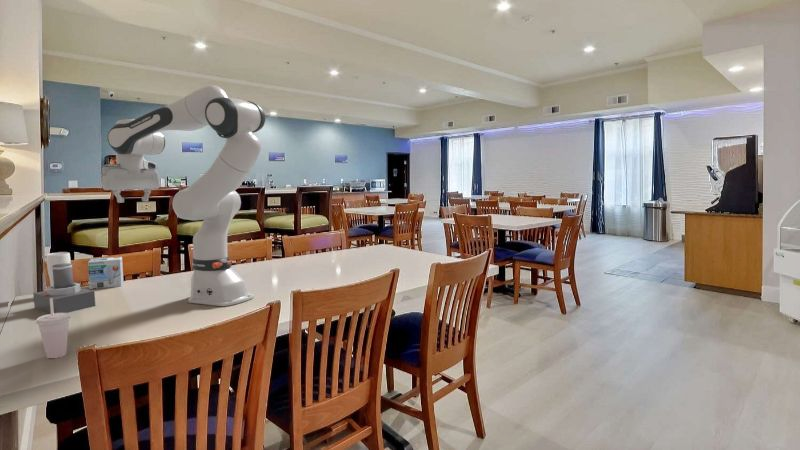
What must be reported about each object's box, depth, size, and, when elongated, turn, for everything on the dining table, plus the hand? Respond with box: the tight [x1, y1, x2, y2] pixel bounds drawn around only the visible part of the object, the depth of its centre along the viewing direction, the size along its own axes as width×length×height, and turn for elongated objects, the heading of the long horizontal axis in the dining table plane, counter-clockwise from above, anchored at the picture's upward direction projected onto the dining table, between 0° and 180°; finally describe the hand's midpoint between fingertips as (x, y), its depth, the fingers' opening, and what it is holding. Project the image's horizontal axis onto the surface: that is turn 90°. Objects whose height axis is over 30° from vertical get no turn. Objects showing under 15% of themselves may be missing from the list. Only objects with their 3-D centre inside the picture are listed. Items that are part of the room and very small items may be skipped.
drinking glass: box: [45, 251, 72, 286], centre depth 156 cm, size 7×7×15 cm
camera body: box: [32, 282, 96, 314], centre depth 142 cm, size 14×11×7 cm
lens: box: [52, 263, 74, 289], centre depth 141 cm, size 5×5×9 cm
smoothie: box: [35, 298, 71, 359], centre depth 103 cm, size 6×6×14 cm
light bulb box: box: [87, 256, 125, 290], centre depth 169 cm, size 11×7×11 cm, turn 117°
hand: (133, 202), depth 160 cm, fingers open, 8 cm apart
